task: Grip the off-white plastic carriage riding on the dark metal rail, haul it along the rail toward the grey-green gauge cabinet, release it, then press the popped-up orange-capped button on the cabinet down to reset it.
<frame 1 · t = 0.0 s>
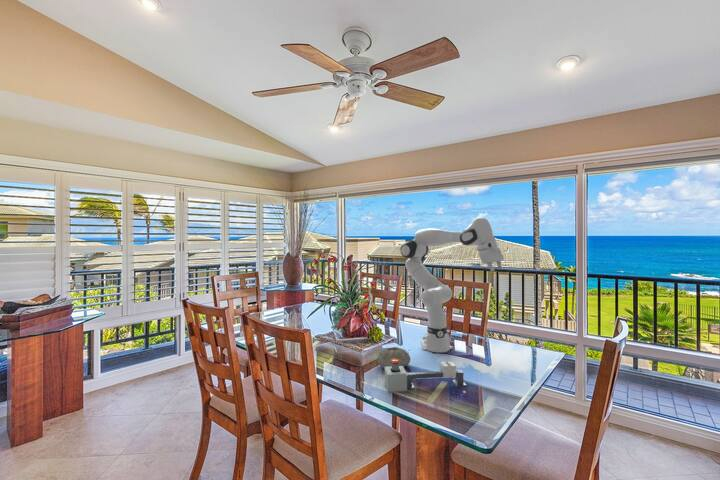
hand: (496, 270, 176), 52 cm above the table, tool tilted 20°, fingers open, 8 cm apart
carriage: (448, 369, 155), point 7 cm above the table, slide at 0.0 cm
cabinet: (395, 386, 153), on the table
rail: (433, 384, 155), on the table
decorative shell: (394, 367, 177), on the table
button: (395, 367, 153), point 9 cm above the table, slide at 0.0 cm
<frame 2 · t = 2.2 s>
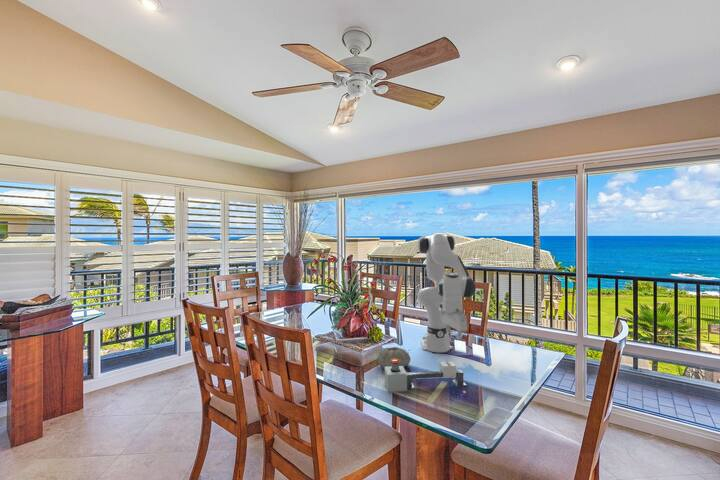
hand: (453, 336, 155), 23 cm above the table, tool pointing down, fingers open, 8 cm apart
nothing on the table moved.
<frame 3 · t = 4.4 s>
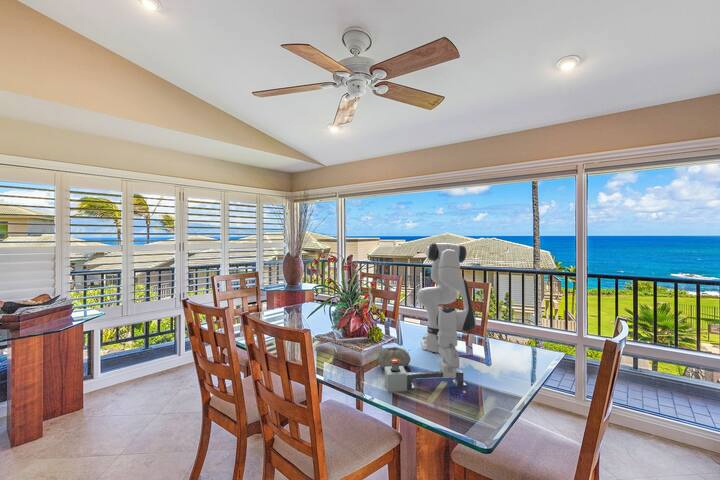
hand: (448, 369, 155), 7 cm above the table, tool pointing down, fingers closed on carriage, 5 cm apart
carriage: (447, 369, 155), point 7 cm above the table, slide at 0.0 cm, touching gripper
everything else where it was.
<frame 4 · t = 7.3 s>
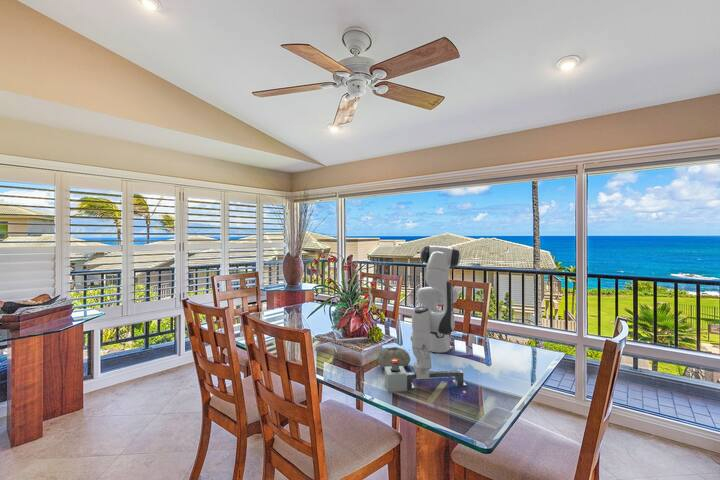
hand: (421, 370, 154), 7 cm above the table, tool pointing down, fingers closed on carriage, 5 cm apart
carriage: (421, 370, 154), point 7 cm above the table, slide at 12.9 cm, touching gripper
everything else where it was.
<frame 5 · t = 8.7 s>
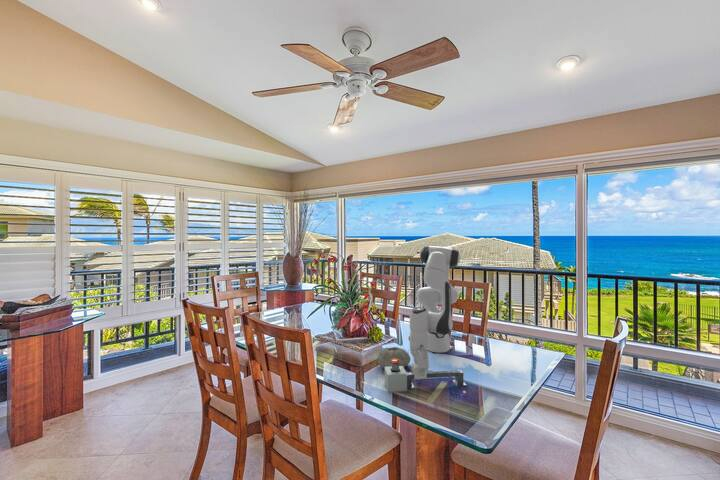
hand: (419, 370, 154), 7 cm above the table, tool pointing down, fingers open, 8 cm apart
carriage: (419, 370, 154), point 7 cm above the table, slide at 14.0 cm
everything else where it was.
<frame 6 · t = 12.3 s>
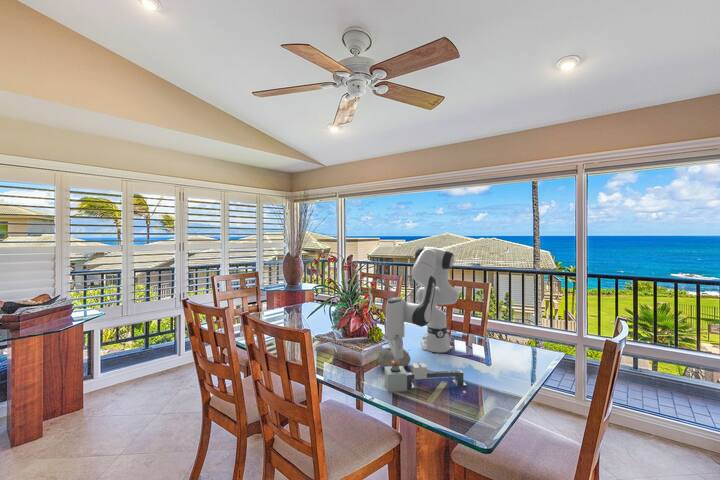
hand: (395, 361, 153), 12 cm above the table, tool pointing down, fingers closed, pressing on button
button: (395, 368, 153), point 9 cm above the table, slide at 0.6 cm, touching gripper
everything else where it was.
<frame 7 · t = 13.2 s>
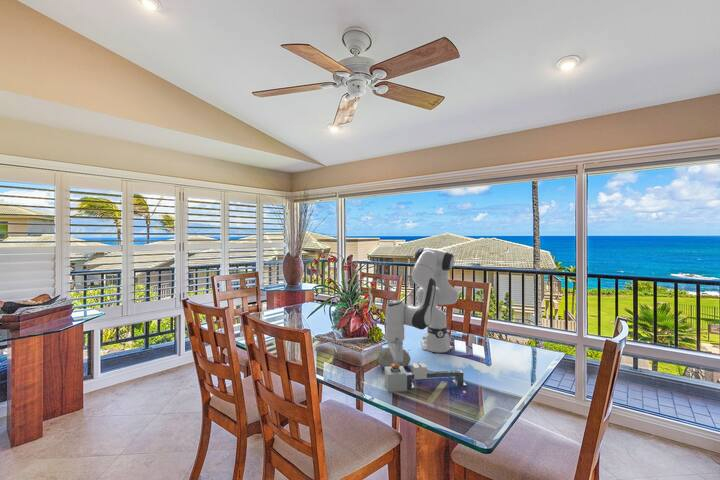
hand: (395, 364, 153), 11 cm above the table, tool pointing down, fingers closed
button: (395, 371, 153), point 7 cm above the table, slide at 2.1 cm
everything else where it was.
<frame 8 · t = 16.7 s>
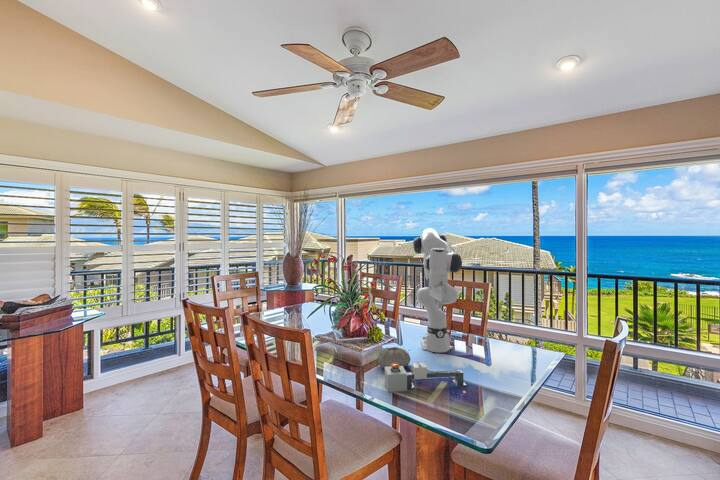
hand: (438, 308, 162), 35 cm above the table, tool pointing down, fingers closed
nothing on the table moved.
at the end: carriage slide at 14.0 cm; button slide at 2.1 cm; the gripper is holding nothing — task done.
